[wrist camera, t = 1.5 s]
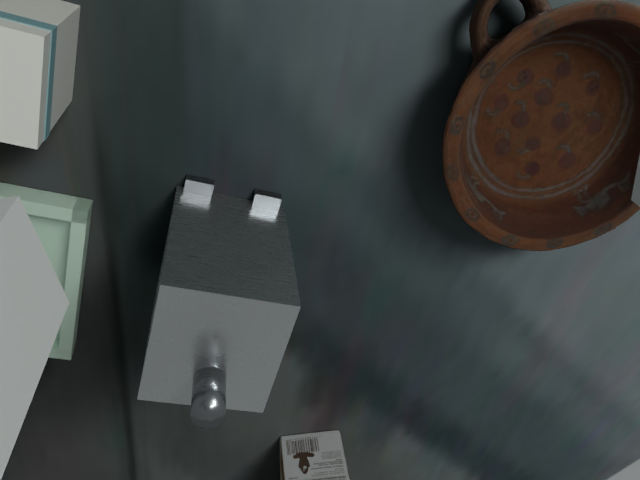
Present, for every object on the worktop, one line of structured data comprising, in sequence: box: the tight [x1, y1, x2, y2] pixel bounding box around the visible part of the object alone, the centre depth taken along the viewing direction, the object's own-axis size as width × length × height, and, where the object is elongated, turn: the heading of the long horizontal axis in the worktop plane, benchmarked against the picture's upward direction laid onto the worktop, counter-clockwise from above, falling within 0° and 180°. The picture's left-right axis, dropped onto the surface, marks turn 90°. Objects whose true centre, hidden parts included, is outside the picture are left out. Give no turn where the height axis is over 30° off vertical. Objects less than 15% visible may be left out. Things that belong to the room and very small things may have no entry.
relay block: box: [0, 0, 80, 149], centre depth 32 cm, size 6×6×8 cm
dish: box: [442, 0, 640, 251], centre depth 40 cm, size 18×22×5 cm
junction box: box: [137, 175, 301, 429], centre depth 38 cm, size 8×11×15 cm
